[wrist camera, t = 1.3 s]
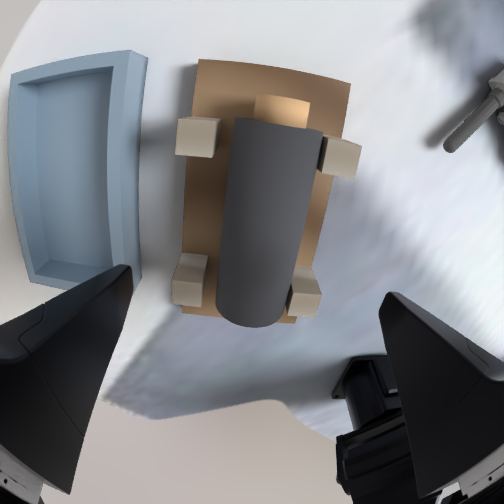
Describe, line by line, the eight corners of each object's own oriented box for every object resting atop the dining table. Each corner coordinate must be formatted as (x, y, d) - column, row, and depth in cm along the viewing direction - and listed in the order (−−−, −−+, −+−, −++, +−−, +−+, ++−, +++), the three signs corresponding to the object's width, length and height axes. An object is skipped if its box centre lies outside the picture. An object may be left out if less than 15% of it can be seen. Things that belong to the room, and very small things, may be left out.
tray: (141, 277, 19) (129, 301, 17) (48, 262, 19) (30, 281, 16) (148, 57, 13) (130, 49, 10) (37, 74, 12) (11, 74, 9)
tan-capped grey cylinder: (274, 284, 19) (291, 325, 15) (212, 283, 18) (218, 328, 14) (308, 105, 14) (344, 109, 10) (233, 93, 13) (246, 89, 9)
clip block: (292, 312, 21) (300, 354, 17) (184, 302, 20) (174, 343, 17) (343, 85, 14) (373, 79, 10) (202, 62, 13) (187, 47, 9)
